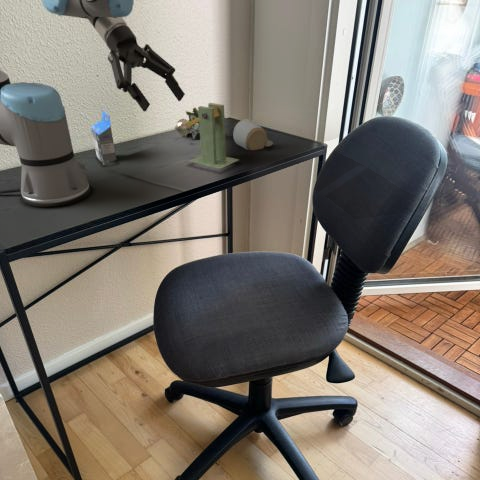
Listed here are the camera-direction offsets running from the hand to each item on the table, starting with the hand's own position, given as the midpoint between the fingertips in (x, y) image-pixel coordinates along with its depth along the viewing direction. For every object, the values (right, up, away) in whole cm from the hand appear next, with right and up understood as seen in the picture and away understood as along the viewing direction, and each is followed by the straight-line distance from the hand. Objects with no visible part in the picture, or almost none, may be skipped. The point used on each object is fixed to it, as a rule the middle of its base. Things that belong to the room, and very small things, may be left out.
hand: (165, 102), depth 126 cm
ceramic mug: (+24, -9, +11) cm, 28 cm away
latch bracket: (+13, -16, 0) cm, 21 cm away
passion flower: (+8, -3, +19) cm, 20 cm away
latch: (+9, -8, -3) cm, 13 cm away
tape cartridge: (-17, -14, +5) cm, 23 cm away
